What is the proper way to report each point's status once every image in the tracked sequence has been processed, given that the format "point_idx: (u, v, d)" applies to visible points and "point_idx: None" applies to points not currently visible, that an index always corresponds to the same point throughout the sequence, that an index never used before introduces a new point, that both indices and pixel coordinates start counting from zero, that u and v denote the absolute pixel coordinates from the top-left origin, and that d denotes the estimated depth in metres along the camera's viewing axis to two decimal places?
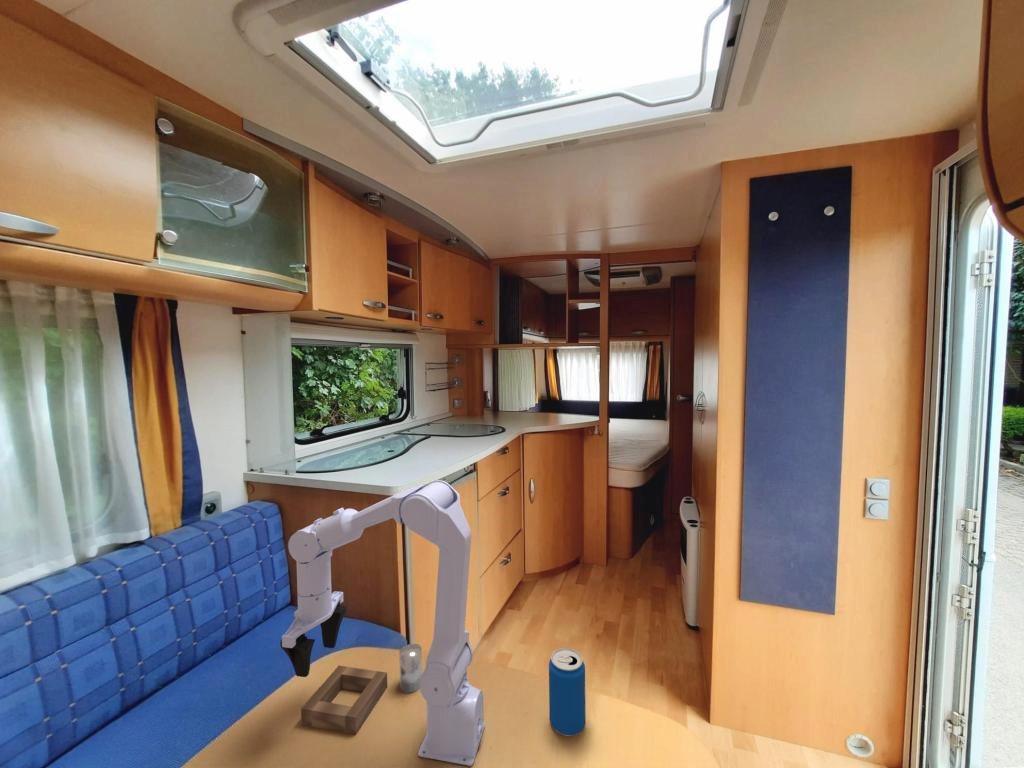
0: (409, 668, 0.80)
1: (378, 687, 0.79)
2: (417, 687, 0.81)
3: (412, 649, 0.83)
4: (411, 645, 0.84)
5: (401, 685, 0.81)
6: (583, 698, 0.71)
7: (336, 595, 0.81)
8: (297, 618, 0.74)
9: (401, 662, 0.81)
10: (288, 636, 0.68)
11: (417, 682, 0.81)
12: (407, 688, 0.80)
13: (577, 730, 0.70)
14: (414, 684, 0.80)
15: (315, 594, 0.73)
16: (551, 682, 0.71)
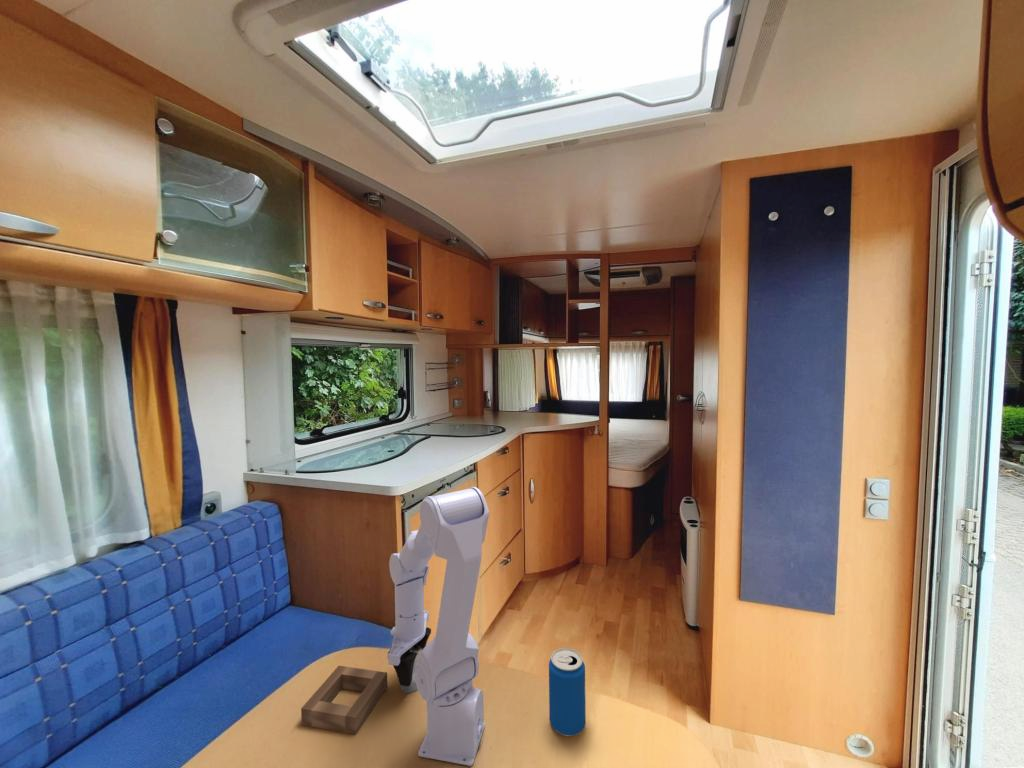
0: None
1: (378, 687, 0.79)
2: None
3: (412, 649, 0.83)
4: None
5: (401, 685, 0.81)
6: (583, 698, 0.71)
7: None
8: (396, 637, 0.80)
9: None
10: (394, 655, 0.75)
11: None
12: (407, 688, 0.80)
13: (577, 730, 0.70)
14: (414, 684, 0.80)
15: (403, 616, 0.79)
16: (551, 682, 0.71)
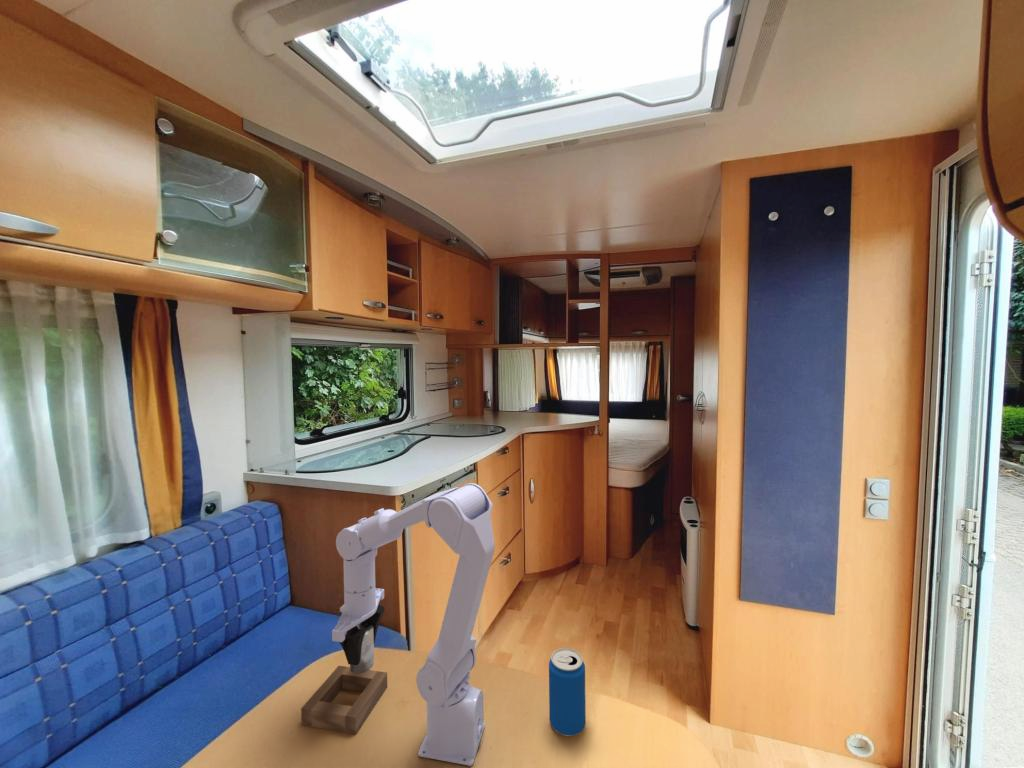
0: None
1: (378, 687, 0.79)
2: (368, 667, 0.77)
3: (363, 628, 0.79)
4: (362, 624, 0.80)
5: (351, 666, 0.77)
6: (583, 698, 0.71)
7: (377, 592, 0.84)
8: (344, 613, 0.76)
9: None
10: (338, 631, 0.71)
11: (368, 662, 0.77)
12: (357, 668, 0.76)
13: (577, 730, 0.70)
14: (365, 664, 0.77)
15: (358, 591, 0.75)
16: (551, 682, 0.71)
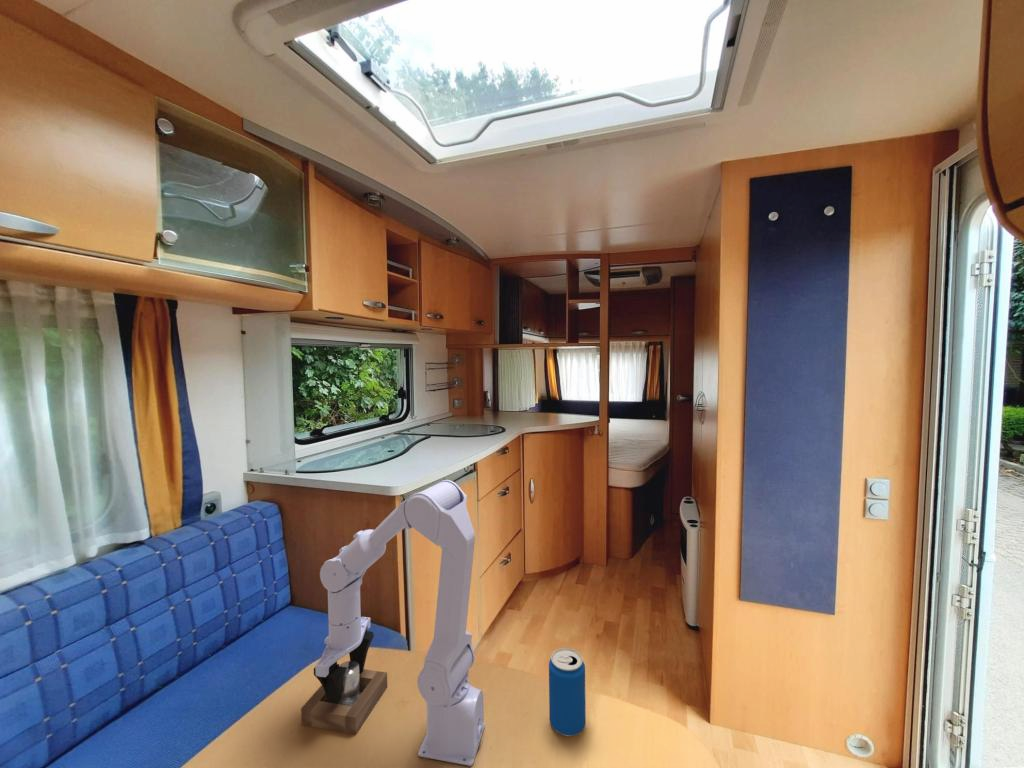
0: (344, 687, 0.75)
1: (378, 687, 0.79)
2: None
3: (349, 667, 0.78)
4: (348, 663, 0.79)
5: None
6: (583, 698, 0.71)
7: (364, 621, 0.83)
8: (328, 646, 0.75)
9: None
10: (321, 665, 0.70)
11: (353, 702, 0.76)
12: None
13: (577, 730, 0.70)
14: (350, 704, 0.76)
15: (344, 623, 0.74)
16: (551, 682, 0.71)
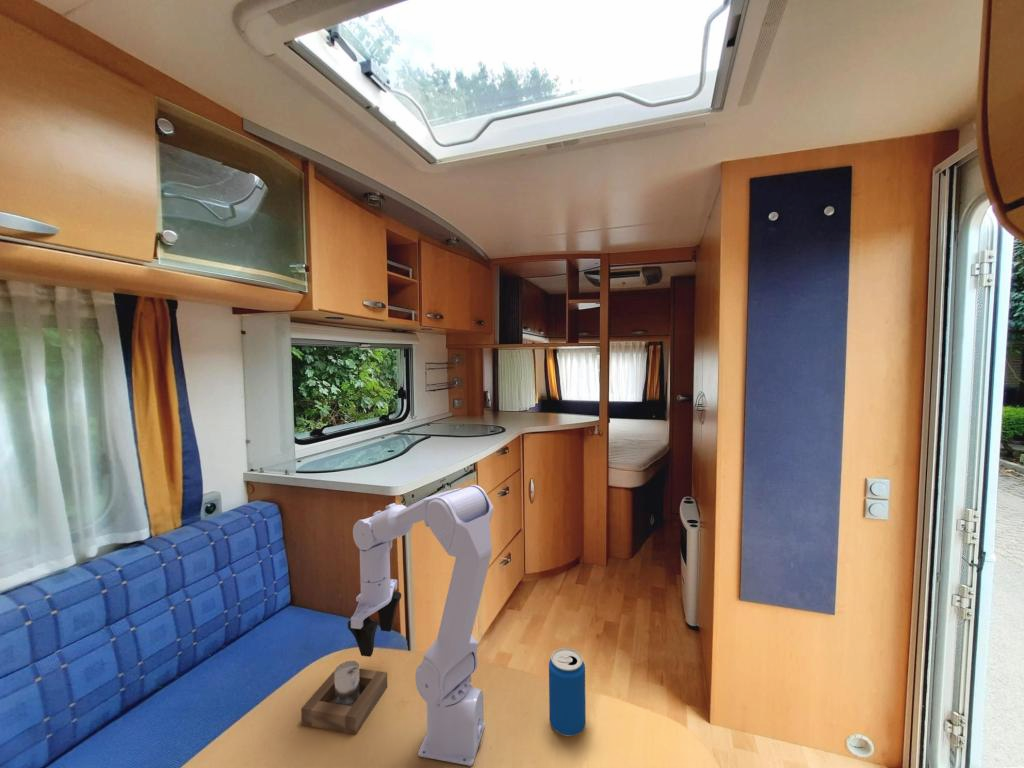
0: (344, 687, 0.75)
1: (378, 687, 0.79)
2: None
3: (349, 667, 0.78)
4: (348, 663, 0.79)
5: None
6: (583, 698, 0.71)
7: (391, 582, 0.87)
8: (360, 602, 0.79)
9: (336, 681, 0.76)
10: (357, 618, 0.74)
11: (353, 702, 0.76)
12: None
13: (577, 730, 0.70)
14: (350, 704, 0.76)
15: (372, 581, 0.78)
16: (551, 682, 0.71)
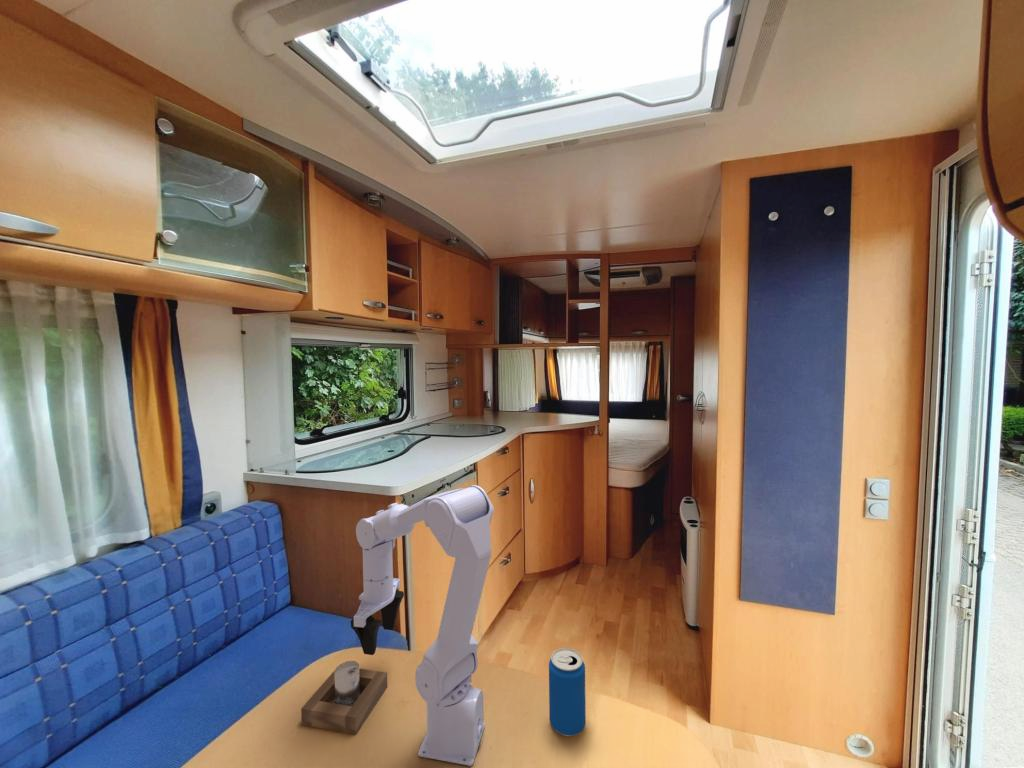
0: (344, 687, 0.75)
1: (378, 687, 0.79)
2: None
3: (349, 667, 0.78)
4: (348, 663, 0.79)
5: None
6: (583, 698, 0.71)
7: (394, 581, 0.88)
8: (363, 601, 0.80)
9: (336, 681, 0.76)
10: (359, 616, 0.75)
11: (354, 702, 0.76)
12: None
13: (577, 730, 0.70)
14: (350, 704, 0.76)
15: (374, 580, 0.79)
16: (551, 682, 0.71)
